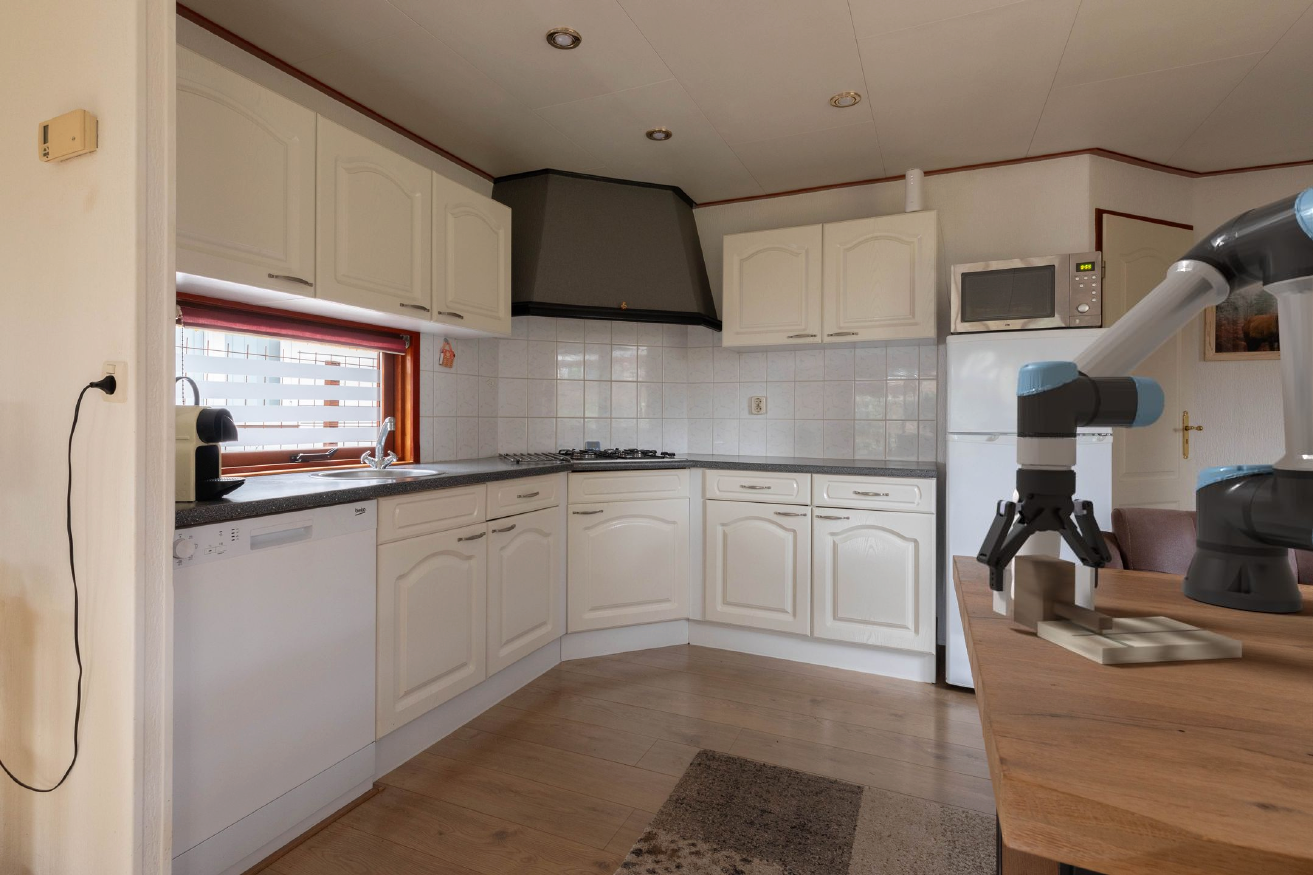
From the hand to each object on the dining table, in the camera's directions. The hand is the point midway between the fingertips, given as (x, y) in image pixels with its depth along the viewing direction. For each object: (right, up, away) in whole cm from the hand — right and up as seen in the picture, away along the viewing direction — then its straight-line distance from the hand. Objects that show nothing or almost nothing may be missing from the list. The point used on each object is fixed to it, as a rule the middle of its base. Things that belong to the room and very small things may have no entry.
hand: (1043, 611), depth 94 cm
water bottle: (+6, -2, +13) cm, 14 cm away
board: (+7, -2, -8) cm, 11 cm away
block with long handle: (+1, -2, -4) cm, 5 cm away
